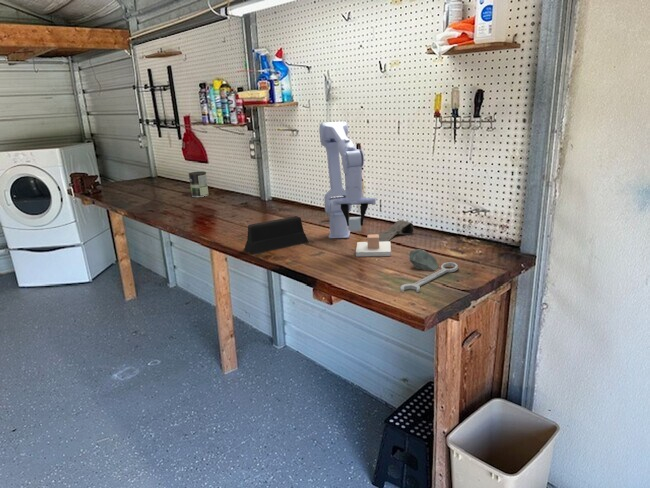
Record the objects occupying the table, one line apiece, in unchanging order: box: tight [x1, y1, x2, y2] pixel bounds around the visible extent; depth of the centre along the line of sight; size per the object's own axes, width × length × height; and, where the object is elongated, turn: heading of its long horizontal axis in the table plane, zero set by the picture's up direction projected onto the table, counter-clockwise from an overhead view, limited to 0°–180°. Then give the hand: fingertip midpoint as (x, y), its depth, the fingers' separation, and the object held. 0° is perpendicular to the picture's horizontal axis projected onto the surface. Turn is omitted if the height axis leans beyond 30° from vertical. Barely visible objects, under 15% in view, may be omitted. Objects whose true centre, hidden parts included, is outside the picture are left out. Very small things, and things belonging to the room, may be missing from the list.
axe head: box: [366, 219, 415, 242], centre depth 183 cm, size 21×5×10 cm
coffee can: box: [188, 171, 210, 198], centre depth 288 cm, size 10×10×14 cm
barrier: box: [243, 215, 310, 256], centre depth 179 cm, size 24×9×10 cm, turn 120°
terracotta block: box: [366, 233, 380, 249], centre depth 167 cm, size 4×4×4 cm
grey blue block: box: [348, 216, 362, 232], centre depth 165 cm, size 4×4×4 cm
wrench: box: [399, 261, 459, 293], centre depth 140 cm, size 26×6×2 cm, turn 134°
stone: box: [408, 248, 439, 272], centre depth 151 cm, size 11×4×10 cm
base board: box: [355, 240, 392, 257], centre depth 168 cm, size 12×12×2 cm
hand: (355, 225), depth 165 cm, fingers closed on grey blue block, 4 cm apart
